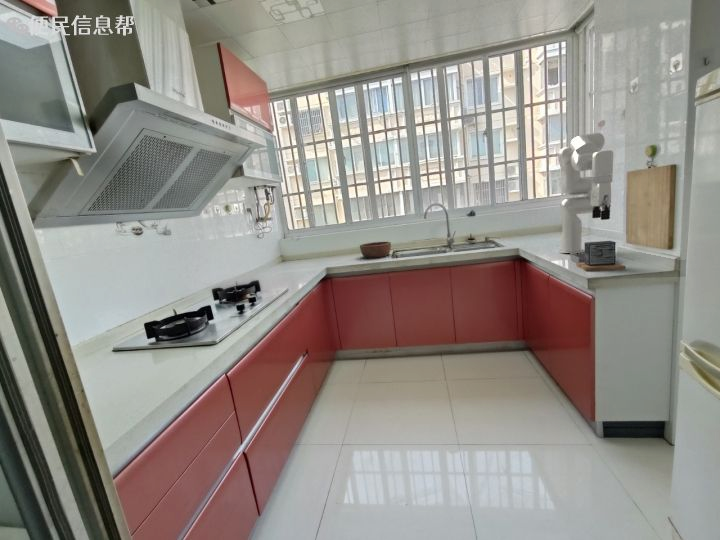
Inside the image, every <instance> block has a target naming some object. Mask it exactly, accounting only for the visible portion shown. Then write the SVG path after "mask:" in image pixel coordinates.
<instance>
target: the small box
mask: <svg viewBox="0 0 720 540" xmlns="http://www.w3.org/2000/svg"><path fill="white" fill-rule="evenodd" d="M616 242H617V241H613V240H601V241H588V242H584V250H585V252H584V254H585V264H586V265H588V266H598V265H615V264H616V263H615V256H616V245H617V244H616Z"/></svg>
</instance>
